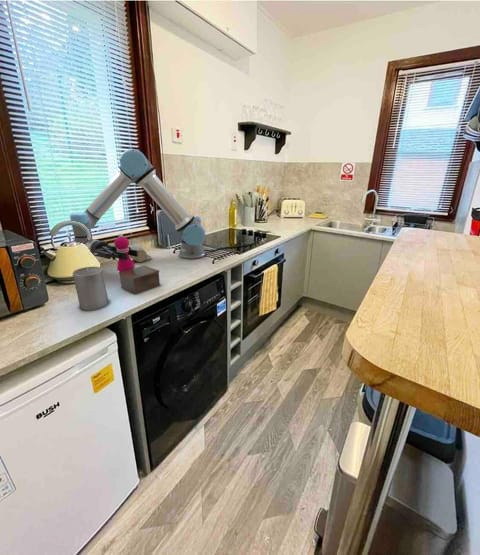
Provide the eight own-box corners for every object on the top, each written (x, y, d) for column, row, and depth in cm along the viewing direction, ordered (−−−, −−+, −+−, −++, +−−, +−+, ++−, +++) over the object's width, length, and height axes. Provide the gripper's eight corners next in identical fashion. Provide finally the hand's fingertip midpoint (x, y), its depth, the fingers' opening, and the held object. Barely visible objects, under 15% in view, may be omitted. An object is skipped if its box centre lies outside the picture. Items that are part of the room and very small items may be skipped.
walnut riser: (146, 279, 128) (144, 265, 125) (160, 285, 121) (159, 270, 119) (121, 287, 119) (118, 272, 116) (135, 294, 112) (133, 278, 110)
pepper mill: (115, 278, 124) (107, 234, 116) (126, 272, 130) (119, 231, 123) (128, 280, 121) (120, 236, 114) (138, 274, 128) (132, 232, 120)
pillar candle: (87, 299, 108) (79, 263, 102) (112, 298, 108) (106, 262, 103) (75, 311, 99) (65, 272, 93) (102, 310, 99) (95, 271, 94)
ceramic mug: (135, 263, 148) (134, 250, 145) (129, 260, 154) (127, 247, 151) (153, 260, 155) (152, 247, 152) (147, 257, 161) (146, 244, 158)
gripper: (115, 251, 138) (148, 258, 128) (81, 260, 124) (115, 269, 113) (112, 236, 136) (146, 242, 125) (77, 244, 121) (112, 252, 111)
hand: (131, 255), depth 119 cm, fingers closed on pepper mill, 5 cm apart
